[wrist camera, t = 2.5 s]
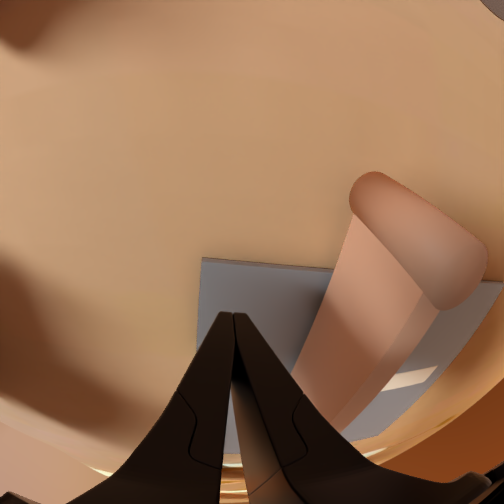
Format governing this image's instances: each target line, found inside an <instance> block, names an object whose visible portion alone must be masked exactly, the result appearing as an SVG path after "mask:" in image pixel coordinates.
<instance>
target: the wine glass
mask: <svg viewBox="0 0 504 504" xmlns="http://www.w3.org/2000/svg"><path fill="white" fill-rule="evenodd" d="M481 1H482V2H483V3H484V4H485V5H486V6H487V7H488V8H489V9H490V10H491V11H492V12H493V13H494V14H495V15H496V16H498V17H499V18H501V19H502V20H504V0H481Z"/></svg>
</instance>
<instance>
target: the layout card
mask: <svg viewBox="0 0 504 504" xmlns="http://www.w3.org/2000/svg"><path fill="white" fill-rule="evenodd" d="M333 272H334V269H323V268H312V267H300V266H289V265H277V264H266V263H255V262H244V261H234V260H223V259H213V258H202V264H201V278H200V292H199V309H198V328H197V351H198V349H199V347H200V345H201V343H202V342H203V340H204V338H205V336H206V334H207V332H208V331H209V329H210V327H211V325H212V323H213V321H214V320H215V318H216V316H217V314H218V312H220V311H227V312H232V314H233V313H234V312H241V313H246V314H247V315H248V316H249V317H250V319H251V320H252V322H253V323H254V324H255V326H256V327H257V329H258V330H259V332H260V333H261V334H262V336H263V337H264V339H265V340H266V341H267V343H268V344H269V346H270V347H271V348H272V350H273V351H274V353H275V354H276V355H277V357H278V358H279V359H280V361H281V362H282V364H283V365H284V366H285V368H286V369H287V370H288V372H289V373H290V374H291V372H292V370H293V368H294V366H295V363H296V361H297V359H298V357H299V355H300V352H301V350H302V348H303V346H304V343H305V341H306V339H307V337H308V334H309V332H310V330H311V327H312V325H313V323H314V320H315V318H316V315H317V313H318V310H319V308H320V306H321V303H322V301H323V298H324V295H325V293H326V290H327V288H328V285H329V283H330V280H331V277H332V275H333ZM503 287H504V283H503V282H497V281H482V280H481V281H480V283H479V285H478V286H477V288H476V289H475V290H474V291H473V293H472V294H471V295H470V296H469V297H468V298H467V299H466V300H465V301H463V302H462V303H461V304H459V305H458V306H456V307H454V308H452V309H449V310H445V311H441V310H440V311H439V313H438V315H437V316H436V318H435V319H434V321H433V322H432V324H431V326H430V327H429V329H428V330H427V332H426V333H425V335H424V336H423V337H422V339H421V340H420V342H419V343H418V345H417V346H416V347H415V349H414V350H413V351H412V353H411V354H410V356H409V357H408V358H407V360H406V361H405V362H404V363H403V365H402V366H401V367H400V369H399V370H398V371H397V372H396V374H395V375H394V376H393V377H392V378H391V380H390V381H389V382H388V383H387V384H386V386H385V387H384V388H383V389H382V390H381V391H380V393H379V394H378V395H377V396H376V397H375V398H374V399H373V400H372V401H371V403H370V404H369V405H368V406H367V407H366V408H365V409H364V410H363V411H362V412H361V413H360V414H359V415H358V416H357V417H356V418H355V419H354V420H353V421H352V422H351V423H350V424H349V425H348V426H347V427H346V428H345V429H344V430H343V431H342V432H341V433H340V434H341V435H342V436H343V437H344V438H345V439H346V440H347V441H348V442H352V441H357V440H361V439H366V438H370V437H374V436H378V435H379V434H380V433H382V432H383V431H384V430H385V429H386V428H387V427H389V426H390V425H391V424H392V423H393V422H394V421H395V420H397V419H398V418H399V417H400V416H401V415H402V414H403V413H404V412H405V411H406V410H407V409H409V408H410V407H411V406H412V405H413V404H414V403H415V402H416V401H417V400H418V399H419V398H420V397H421V396H422V395H423V394H424V393H425V392H426V391H427V390H428V388H429V387H430V386H431V385H432V384H433V383H434V382H435V381H436V380H437V379H438V378H439V376H440V375H441V374H442V373H443V372H444V371H445V370H446V368H447V367H448V366H449V365H450V364H451V362H452V361H453V360H454V359H455V358H456V356H457V355H458V354H459V353H460V351H461V350H462V349H463V347H464V346H465V345H466V343H467V342H468V341H469V339H470V338H471V337H472V335H473V334H474V332H475V331H476V330H477V328H478V327H479V325H480V324H481V322H482V321H483V319H484V318H485V316H486V315H487V313H488V312H489V310H490V309H491V307H492V305H493V304H494V302H495V300H496V299H497V297H498V295H499V294H500V292H501V290H502V288H503ZM224 453H226V454H240V448H239V442H238V435H237V429H236V423H235V416H234V410H233V403H232V396H231V390H230V399H229V408H228V417H227V426H226V436H225V445H224Z"/></svg>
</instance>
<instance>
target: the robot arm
mask: <svg viewBox="0 0 504 504" xmlns="http://www.w3.org/2000/svg"><path fill="white" fill-rule="evenodd" d="M230 390H231V396H232V403H233V410H234V416H235V423H236V429H237V435H238V442H239V448H240V454H241V459H242V465H243V471H244V476H245V482H246V487H247V493H248V496H249V497H248V498H249V503H250V504H504V461H503V462H501V463H500V464H498V465H497V466H495V467H494V468H492V469H490V470H489V471H487V472H486V473H484V474H479V473H476V472H472V471H470V472H467V473H465V474H463V475H461V476H459V477H458V478H456V479H454V480H452V481H450V482H448V483H439V482H433V481H429V480H424V479H421V478H417V477H413V476H409V475H406V474H402V473H399V472H396V471H392V470H389V469H386V468H383V467H380V466H378V465H376V464H374V463H373V462H371V461H369V460H368V459H367V458H365V457H364V456H363V455H362V454H361V453H360V452H359V451H358V450H356V449H355V448H354V447H353V446H352V445H351V444H350V443H349V442H348V441H347V440H346V439H345V438H344V437H343V436H342V435H341V434H340V433H339V432H338V431H337V430H336V429H335V428H334V427H333V426H332V425H331V424H330V423H329V422H328V421H327V420H326V419H325V418H324V417H323V416H322V415H321V413H320V412H319V411H318V410H317V408H316V407H315V406H314V405H313V404H312V402H311V401H310V400H309V398H308V397H307V396H306V394H303V390H302V389H301V388H300V387H299V385H298V384H297V382H296V381H295V380H294V378H293V377H292V376H291V374H290V373H289V372H288V370H287V369H286V368H285V366H284V365H283V364H282V362H281V361H280V359H279V358H278V357H277V355H276V354H275V353H274V351H273V350H272V348H271V347H270V346H269V344H268V343H267V341H266V340H265V339H264V337H263V336H262V334H261V333H260V332H259V330H258V329H257V327H256V326H255V324H254V323H253V322H252V320H251V319H250V317H249V316H248V315H247V314H246V313H241V312H234V313H233V314H232V312H227V311H220V312H218V314H217V316H216V318H215V320H214V321H213V323H212V325H211V327H210V329H209V331H208V332H207V334H206V336H205V338H204V340H203V342H202V343H201V345H200V347H199V349H198V351H197V352H196V354H195V356H194V358H193V360H192V362H191V363H190V365H189V367H188V369H187V371H186V373H185V374H184V376H183V378H182V380H181V382H180V384H179V385H178V387H177V389H176V391H175V392H174V394H173V396H172V398H171V400H170V401H169V403H168V405H167V406H166V408H165V410H164V411H163V413H162V415H161V416H160V418H159V419H158V420H157V422H156V423H155V425H154V426H153V427H152V429H151V430H150V431H149V433H148V434H147V435H146V437H145V438H144V439H143V440H142V442H141V443H140V444H139V445H138V447H137V448H136V449H135V450H134V452H133V453H132V454H131V456H130V457H129V458H128V459H127V460H126V462H125V463H124V464H123V465H122V466H121V467H120V468H119V469H118V470H117V471H116V472H115V473H114V474H113V475H111V476H110V477H109V478H107V479H106V480H104V481H103V482H101V483H100V484H98V485H96V486H95V487H94V488H92V489H90V490H88V491H87V492H85V493H84V494H82V495H80V496H79V497H77V498H75V499H73V500H72V501H70V502H68V503H66V504H219V501H220V485H221V474H222V472H221V471H222V464H223V454H224V445H225V436H226V426H227V417H228V408H229V399H230ZM0 504H40V503H37V502H35V501H32V500H30V499H27V498H25V497H23V496H20V495H18V494H15V493H13V492H6V493H5V494H4V495H3V496H2V497H0Z"/></svg>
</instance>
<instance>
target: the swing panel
mask: <svg viewBox="0 0 504 504" xmlns="http://www.w3.org/2000/svg"><path fill="white" fill-rule="evenodd" d="M349 203H350V207H351V210H352V212H353V213H354V214H353V217H352V220H351V223H350V226H349V229H348V232H347V235H346V238H345V241H344V244H343V247H342V250H341V252H340V255H339V258H338V261H337V264H336V266H335V269H334V272H333V275H332V277H331V280H330V283H329V285H328V288H327V290H326V293H325V295H324V298H323V301H322V303H321V306H320V308H319V310H318V313H317V315H316V318H315V320H314V323H313V325H312V327H311V330H310V332H309V334H308V337H307V339H306V341H305V343H304V346H303V348H302V350H301V352H300V355H299V357H298V359H297V361H296V363H295V366H294V368H293V370H292V372H291V376H292V377H293V378H294V380H295V381H296V382H297V384H298V385H299V387H300V388H301V389H302V390H303V394H306V396H307V397H308V398H309V400H310V401H311V402H312V404H313V405H314V406H315V407H316V408H317V410H318V411H319V412H320V413H321V415H322V416H323V417H324V418H325V419H326V420H327V421H328V422H329V423H330V424H331V425H332V426H333V427H334V428H335V429H336V430H337V431H338V432H339V433H341V432H342V431H343V430H344V429H345V428H346V427H347V426H348V425H349V424H350V423H351V422H352V421H353V420H354V419H355V418H356V417H357V416H358V415H359V414H360V413H361V412H362V411H363V410H364V409H365V408H366V407H367V406H368V405H369V404H370V403H371V401H372V400H373V399H374V398H375V397H376V396H377V395H378V394H379V393H380V391H381V390H382V389H383V388H384V387H385V386H386V384H387V383H388V382H389V381H390V380H391V378H392V377H393V376H394V375H395V374H396V372H397V371H398V370H399V369H400V367H401V366H402V365H403V363H404V362H405V361H406V360H407V358H408V357H409V356H410V354H411V353H412V351H413V350H414V349H415V347H416V346H417V345H418V343H419V342H420V340H421V339H422V337H423V336H424V335H425V333H426V332H427V330H428V329H429V327H430V326H431V324H432V322H433V321H434V319H435V318H436V316H437V315H438V313H439V311H440V310H441V311H445V310H449V309H452V308H454V307H456V306H458V305H459V304H461V303H462V302H463V301H465V300H466V299H467V298H468V297H469V296H470V295H471V294H472V293H473V291H474V290H475V289H476V288H477V286H478V285H479V283H480V281H481V279H482V277H483V275H484V273H485V270H486V267H487V263H488V251H487V248H486V246H485V245H484V244H483V243H482V242H481V241H479V240H478V239H477V238H476V237H474V236H473V235H472V234H471V233H469V232H468V231H467V230H466V229H464V228H463V227H462V226H461V225H459V224H458V223H457V222H455V221H454V220H453V219H451V218H450V217H449V216H447V215H446V214H444V213H443V212H442V211H440V210H439V209H437V208H436V207H435V206H433V205H432V204H430V203H429V202H427V201H426V200H424V199H423V198H421V197H420V196H418V195H417V194H415V193H414V192H412V191H411V190H409V189H408V188H406V187H405V186H403V185H401V184H400V183H398V182H397V181H395V180H393V179H392V178H390V177H388V176H387V175H385V174H383V173H381V172H369V173H366V174H364V175H362V176H361V177H360V178H359V179H357V181H356V182H355V183H354V185H353V187H352V189H351V191H350V196H349Z"/></svg>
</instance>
